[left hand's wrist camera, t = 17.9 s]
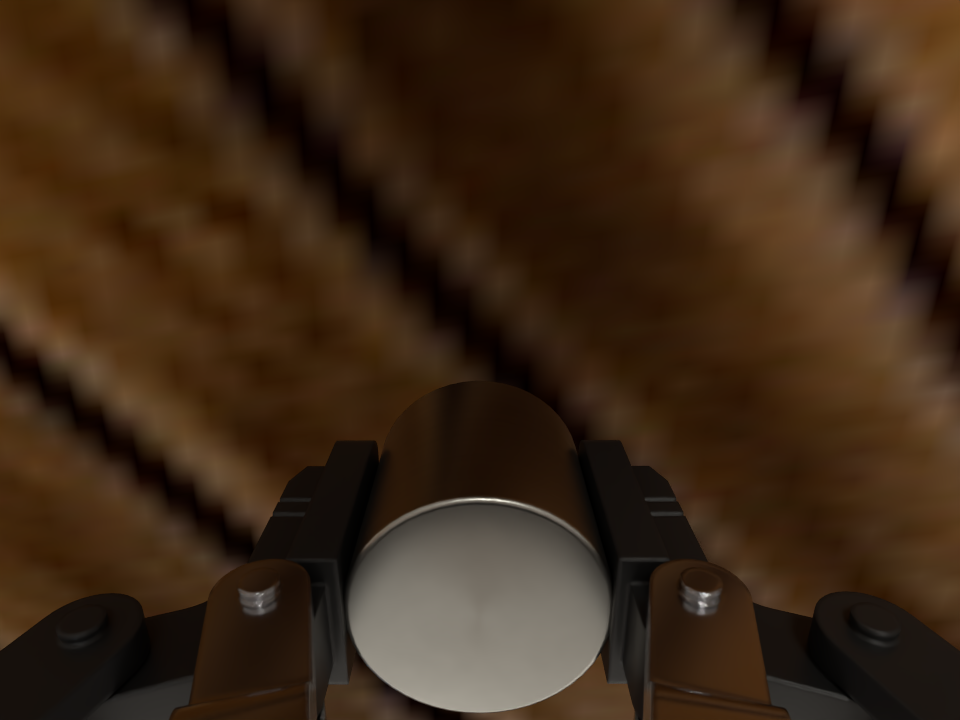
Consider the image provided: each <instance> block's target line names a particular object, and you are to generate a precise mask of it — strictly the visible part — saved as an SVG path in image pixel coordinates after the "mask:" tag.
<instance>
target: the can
mask: <svg viewBox="0 0 960 720" xmlns="http://www.w3.org/2000/svg"><path fill="white" fill-rule="evenodd" d="M612 597H613V581H612V577H611V573H610V570H609V566H608V563H607V559H606V555H605V552H604V548H603V545H602V541H601V537H600V534H599V530H598V527H597V523H596V520H595V516H594V512H593V509H592V505H591V502H590V498H589V495H588V491H587V487H586V484H585V480H584V477H583V473H582V469H581V466H580V462H579V459H578V455H577V452H576V448H575V445H574V442H573V439H572V436H571V434H570V433H569V431H568V429H567V427H566V425H565V424H564V422H563V421H562V420H561V418H560V417H559V416H558V415H557V414H556V413H555V412H554V411H553V410H552V409H551V407H549V406H548V405H547V404H546V403H544V402H543V401H542V400H540V399H539V398H537V397H535V396H534V395H532V394H530V393H529V392H526V391H524V390H522V389H519V388H517V387H514V386H510V385H507V384H503V383H497V382H491V381H470V382H461V383H457V384H452V385H448V386H445V387H442V388H439V389H437V390H435V391H432V392H430V393H428V394H426V395H425V396H423V397H422V398H420V399H418V400H417V401H415V402H414V403H413V404H412V405H411V406H409V407H408V408H407V409H406V410H405V411H404V412H403V413H402V414H401V416H400V417H399V418H398V419H397V420H396V422H395V423H394V425H393V426H392V428H391V430H390V432H389V434H388V436H387V438H386V441H385V444H384V447H383V451H382V454H381V458H380V461H379V465H378V468H377V472H376V476H375V479H374V483H373V486H372V490H371V493H370V497H369V500H368V504H367V507H366V511H365V514H364V518H363V522H362V525H361V529H360V532H359V536H358V539H357V543H356V546H355V550H354V553H353V557H352V561H351V564H350V568H349V571H348V575H347V578H346V582H345V586H344V608H345V619H346V626H347V630H348V633H349V636H350V638H351V641H352V644H353V645H354V647H355V649H356V651H357V652H358V654H359V656H360V657H361V659H362V660H363V661H364V662H365V664H366V665H367V666H368V668H369V669H370V670H371V671H372V672H373V673H374V674H375V675H376V676H377V677H378V678H380V679H381V680H382V681H383V682H385V683H386V684H387V685H389V686H390V687H391V688H393V689H395V690H396V691H398V692H400V693H401V694H403V695H405V696H407V697H409V698H411V699H413V700H416V701H418V702H420V703H423V704H426V705H429V706H432V707H436V708H440V709H445V710H449V711H456V712H464V713H493V712H502V711H508V710H514V709H518V708H522V707H526V706H529V705H532V704H535V703H538V702H540V701H543V700H545V699H547V698H549V697H551V696H553V695H555V694H557V693H559V692H561V691H562V690H564V689H565V688H567V687H568V686H570V685H571V684H572V683H574V682H575V681H576V680H577V679H578V678H580V677H581V676H582V675H583V674H584V673H585V672H586V671H587V670H588V669H589V668H590V666H591V665H592V664H593V663H594V662H595V660H596V659H597V657H598V656H599V654H600V653H601V651H602V649H603V647H604V645H605V643H606V641H607V639H608V637H609V630H610V621H611V610H612Z"/></svg>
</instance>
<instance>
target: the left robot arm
mask: <svg viewBox="0 0 960 720" xmlns="http://www.w3.org/2000/svg"><path fill="white" fill-rule="evenodd" d="M578 459H579V462H580V466H581V469H582V473H583V477H584V480H585V484H586V487H587V491H588V495H589V498H590V502H591V505H592V509H593V512H594V516H595V520H596V523H597V527H598V530H599V534H600V537H601V541H602V545H603V548H604V552H605V555H606V559H607V563H608V566H609V570H610V573H611V577H612V581H613V597H612V610H611V621H610V630H609V637H608V639H607V641H606V643H605V645H604V647H603V649H602V651H601V656H602V661H603V665H604V670H605V674H606V679H607V683H627V684H628V688H629V692H630V696H631V700H632V704H633V707H634V709H635V710H634V719H633V720H960V651H959V650H958V649H956V648H955V647H954V646H952V645H951V644H950V643H948V642H947V641H946V640H944V639H943V638H942V637H940V636H939V635H938V634H936V633H935V632H934V631H932V630H931V629H930V628H928V627H927V626H926V625H924V624H923V623H922V622H920V621H919V620H918V619H916V618H915V617H914V616H912V615H911V614H909V613H908V612H906V611H905V610H903V609H902V608H900V607H898V606H896V605H894V604H892V603H890V602H888V601H886V600H883V599H881V598H878V597H875V596H871V595H868V594H863V593H858V592H835V593H830V594H828V595H826V596H824V597H822V598H821V599H820V600H819V601H818V602H817V604H816V607H815V610H814V614H813V618H811V617H807V616H802V615H798V614H794V613H789V612H785V611H780V610H776V609H772V608H768V607H764V606H761V605H758V604H756V603H753V602H752V597H751V594H750V592H749V590H748V588H747V587H746V586H745V584H744V583H743V582H742V581H741V580H740V579H739V578H738V577H737V576H735V575H734V574H732V573H731V572H730V571H728V570H726V569H724V568H722V567H720V566H718V565H715V564H712V563H709V562H708V561H707V559H706V557H705V555H704V553H703V551H702V549H701V547H700V545H699V543H698V541H697V539H696V537H695V535H694V533H693V531H692V529H691V527H690V525H689V523H688V521H687V519H686V517H685V516H683V511H682V509H681V507H680V505H679V503H678V502H676V497H675V495H674V493H673V491H672V489H671V487H670V485H669V483H668V481H667V480H666V479H665V478H663V477H662V476H661V475H660V474H658V473H657V472H656V471H655V470H653V469H652V468H651V467H650V466H631V464H630V462H629V459H628V457H627V455H626V452H625V450H624V448H623V445H622V443H621V441H620V440H581V442H580V445H579V453H578ZM378 465H379V456H378V447H377V443H376V441H336V443H335V445H334V447H333V449H332V452H331V454H330V456H329V459H328V461H327V463H326V466H307V467H306V468H305V469H304V470H302V471H301V472H300V473H299V474H297V475H296V476H295V477H294V478H292V479H291V480H290V481H289V482H288V484H287V486H286V488H285V490H284V492H283V494H282V496H281V498H280V502H278V504H277V506H276V508H275V510H274V511H273V517H270V519H269V521H268V523H267V525H266V527H265V529H264V531H263V533H262V535H261V537H260V539H259V541H258V543H257V545H256V547H255V549H254V551H253V553H252V555H251V557H250V559H249V561H248V563H247V564H245V565H242V566H240V567H238V568H236V569H234V570H232V571H230V572H229V573H228V574H226V575H225V576H223V577H222V578H221V579H220V580H219V581H218V582H217V583H216V584H215V586H214V587H213V588H212V590H211V592H210V594H209V597H208V601H206V602H204V603H202V604H199V605H196V606H193V607H190V608H186V609H183V610H178V611H174V612H169V613H165V614H161V615H156V616H152V617H147V618H145V617H144V613H143V609H142V606H141V604H140V603H139V602H138V601H137V600H136V599H134V598H133V597H130V596H128V595H124V594H116V593H108V594H99V595H93V596H89V597H86V598H82V599H79V600H77V601H74V602H71V603H69V604H67V605H65V606H63V607H61V608H59V609H57V610H56V611H54V612H52V613H51V614H49V615H48V616H47V617H45V618H44V619H42V620H41V621H40V622H38V623H37V624H36V625H34V626H33V627H32V628H30V629H29V630H28V631H26V632H25V633H24V634H22V635H21V636H20V637H18V638H17V639H16V640H14V641H13V642H12V643H10V644H9V645H8V646H6V647H5V648H4V649H2V650H1V651H0V720H327V719H326V710H325V702H324V698H325V695H326V691H327V687H328V684H348V683H349V679H350V675H351V670H352V666H353V661H354V657H355V653H356V649H355V647H354V645H353V644H352V641H351V638H350V636H349V633H348V630H347V626H346V619H345V608H344V586H345V582H346V578H347V575H348V571H349V568H350V564H351V561H352V557H353V553H354V550H355V546H356V543H357V539H358V536H359V532H360V529H361V525H362V522H363V518H364V514H365V511H366V507H367V504H368V500H369V497H370V493H371V490H372V486H373V483H374V479H375V476H376V472H377V468H378Z"/></svg>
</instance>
